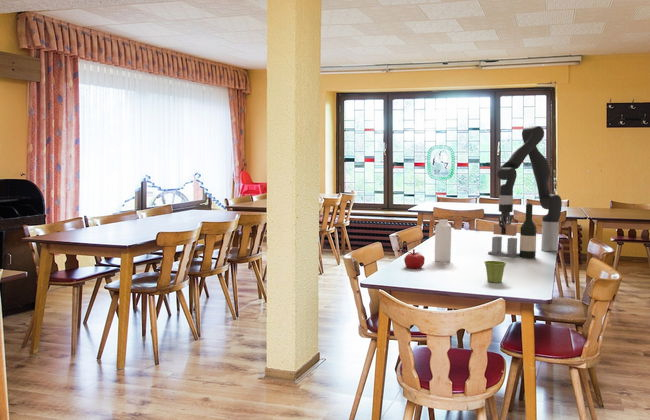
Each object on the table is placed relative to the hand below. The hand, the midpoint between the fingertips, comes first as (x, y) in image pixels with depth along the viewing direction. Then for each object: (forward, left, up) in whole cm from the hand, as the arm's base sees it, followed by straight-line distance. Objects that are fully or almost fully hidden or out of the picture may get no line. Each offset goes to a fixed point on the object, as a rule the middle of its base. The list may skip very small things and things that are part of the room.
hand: (504, 233), depth 354 cm
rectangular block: (0, 0, -1) cm, 1 cm away
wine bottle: (-1, +13, -12) cm, 18 cm away
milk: (+40, -17, -12) cm, 45 cm away
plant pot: (+73, +27, -12) cm, 79 cm away
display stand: (0, 0, -12) cm, 12 cm away
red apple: (+67, -18, -12) cm, 70 cm away
